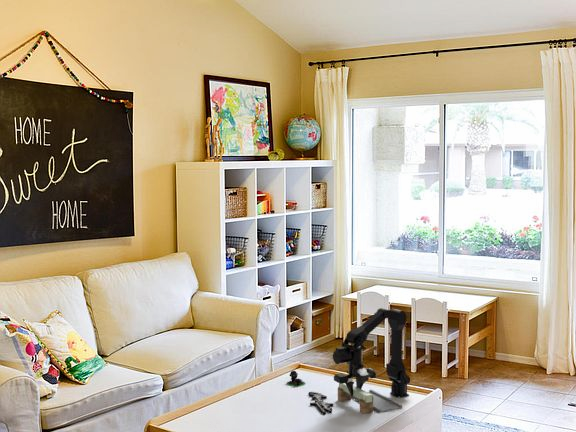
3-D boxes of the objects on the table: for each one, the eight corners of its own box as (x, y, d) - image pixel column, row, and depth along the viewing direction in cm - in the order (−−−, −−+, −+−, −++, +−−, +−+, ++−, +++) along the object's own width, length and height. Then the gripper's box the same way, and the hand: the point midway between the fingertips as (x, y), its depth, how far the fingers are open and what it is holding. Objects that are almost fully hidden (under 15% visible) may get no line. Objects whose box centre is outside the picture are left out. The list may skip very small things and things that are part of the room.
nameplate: (300, 392, 331) (321, 390, 334) (300, 395, 331) (321, 393, 334) (318, 412, 305) (340, 410, 307) (318, 416, 305) (340, 414, 307)
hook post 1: (347, 398, 326) (347, 383, 326) (350, 400, 324) (350, 384, 323) (337, 399, 324) (337, 384, 324) (341, 401, 321) (341, 386, 321)
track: (371, 392, 334) (371, 389, 334) (402, 408, 313) (402, 404, 313) (349, 396, 329) (349, 393, 328) (379, 412, 307) (379, 409, 307)
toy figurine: (290, 388, 342) (290, 376, 341) (282, 382, 351) (282, 370, 350) (309, 385, 346) (309, 373, 345) (301, 379, 355) (300, 368, 354)
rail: (339, 388, 325) (338, 381, 324) (344, 387, 326) (344, 380, 326) (366, 402, 305) (366, 395, 305) (372, 401, 306) (372, 394, 306)
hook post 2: (369, 410, 310) (369, 394, 310) (373, 412, 308) (373, 396, 307) (359, 412, 308) (359, 396, 308) (363, 414, 305) (363, 398, 305)
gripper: (346, 367, 303) (346, 404, 304) (383, 361, 311) (383, 397, 313) (333, 361, 313) (333, 396, 314) (369, 355, 321) (369, 390, 323)
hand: (355, 395), depth 316 cm, fingers closed on rail, 3 cm apart
